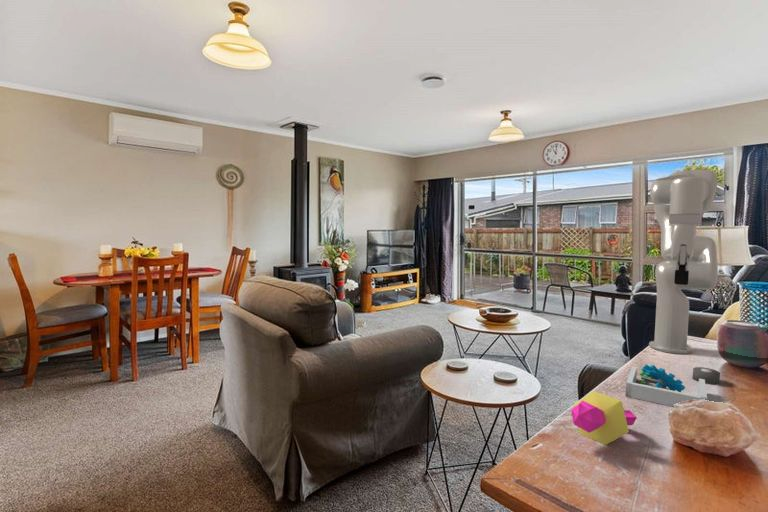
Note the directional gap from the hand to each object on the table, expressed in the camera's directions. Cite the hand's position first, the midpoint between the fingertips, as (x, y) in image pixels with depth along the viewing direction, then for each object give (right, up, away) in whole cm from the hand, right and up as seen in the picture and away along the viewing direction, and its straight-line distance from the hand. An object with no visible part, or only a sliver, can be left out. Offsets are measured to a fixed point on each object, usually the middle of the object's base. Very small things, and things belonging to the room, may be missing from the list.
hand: (681, 284), depth 117 cm
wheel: (+6, -27, -2) cm, 28 cm away
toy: (-41, -30, -33) cm, 61 cm away
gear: (-13, -28, -10) cm, 32 cm away
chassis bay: (-13, -28, -12) cm, 33 cm away
